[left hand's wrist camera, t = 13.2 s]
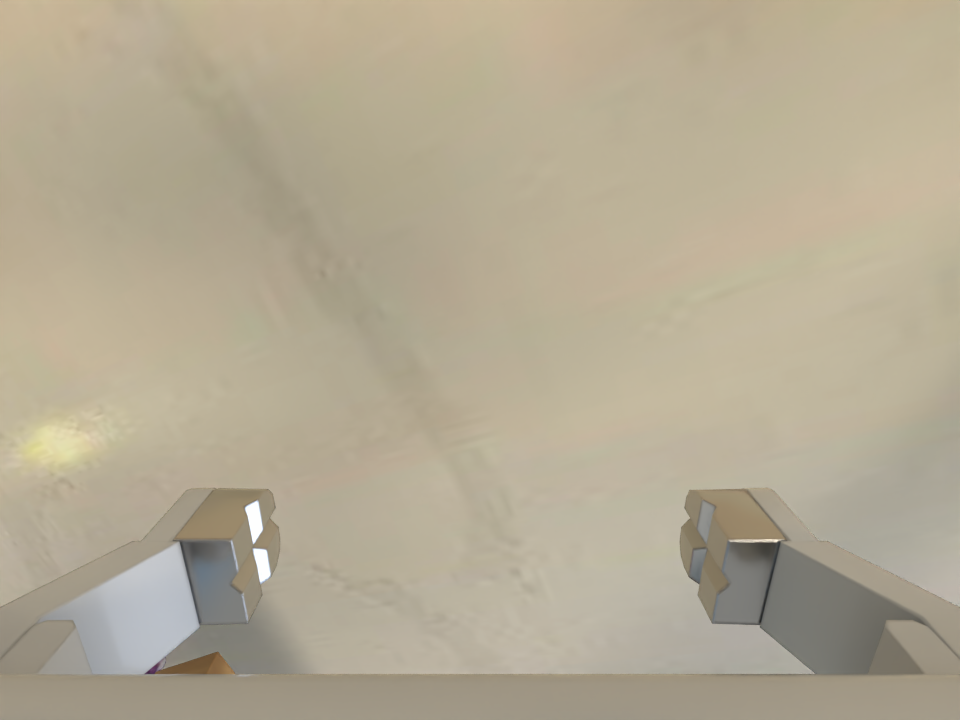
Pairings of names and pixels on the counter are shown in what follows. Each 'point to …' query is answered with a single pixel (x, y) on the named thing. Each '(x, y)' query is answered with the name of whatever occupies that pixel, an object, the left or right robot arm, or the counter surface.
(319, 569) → the counter surface
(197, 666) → the bar
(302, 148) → the counter surface
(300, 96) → the counter surface
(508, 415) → the counter surface
